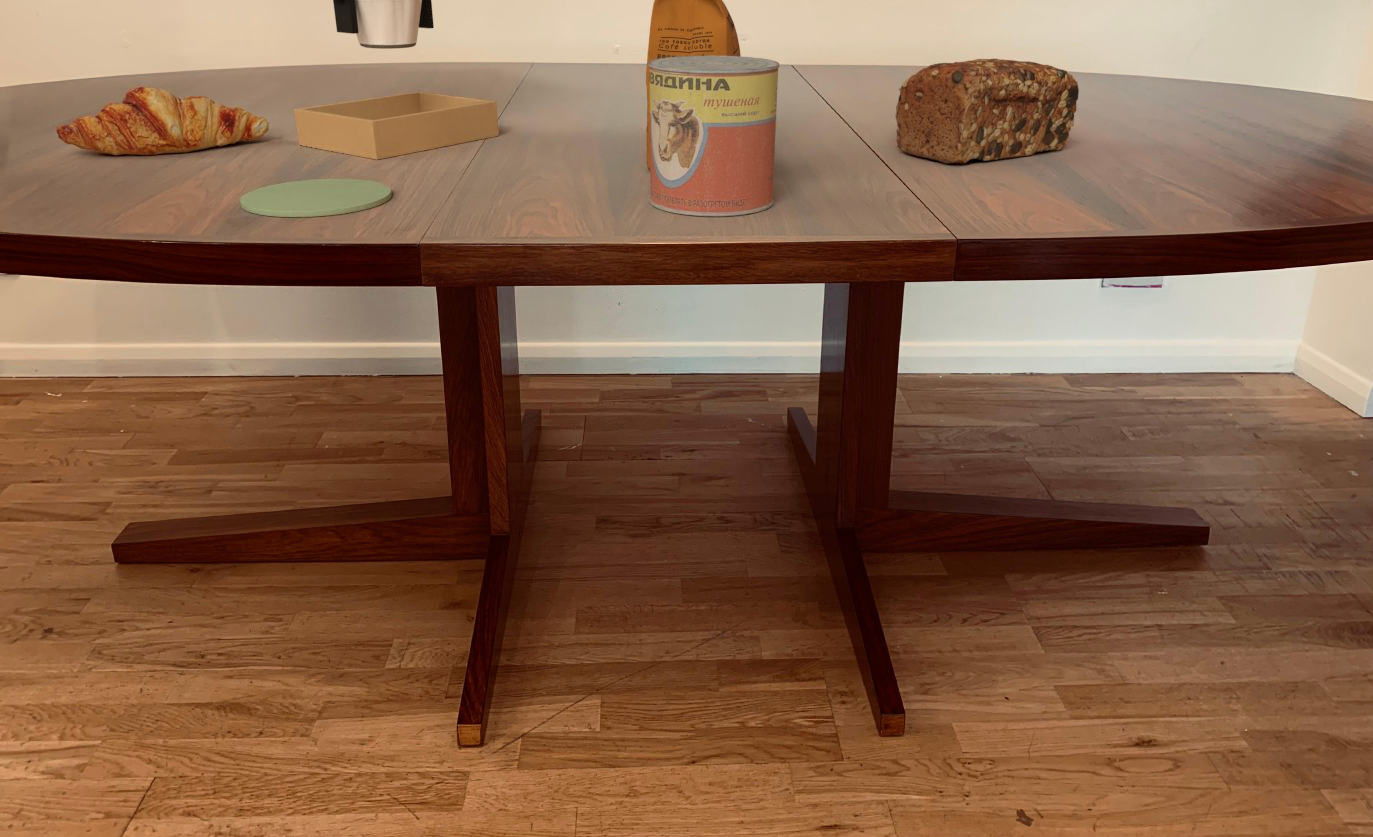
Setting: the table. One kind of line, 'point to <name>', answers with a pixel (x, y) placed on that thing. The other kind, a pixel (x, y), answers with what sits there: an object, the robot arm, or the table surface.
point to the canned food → (712, 134)
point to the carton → (396, 124)
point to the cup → (388, 23)
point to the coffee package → (688, 35)
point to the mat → (315, 197)
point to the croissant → (161, 125)
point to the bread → (985, 110)
